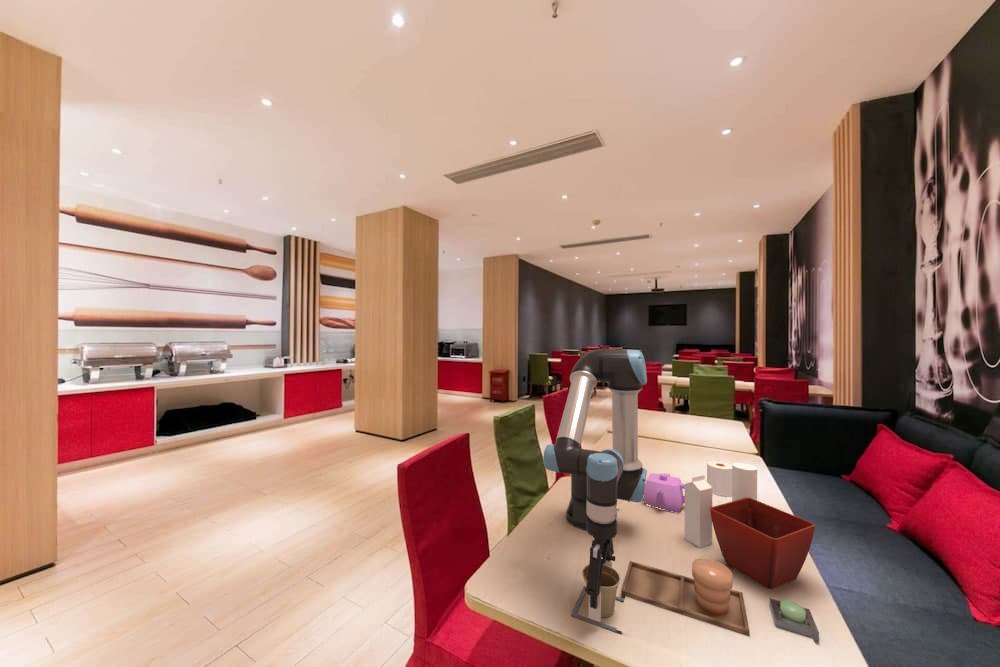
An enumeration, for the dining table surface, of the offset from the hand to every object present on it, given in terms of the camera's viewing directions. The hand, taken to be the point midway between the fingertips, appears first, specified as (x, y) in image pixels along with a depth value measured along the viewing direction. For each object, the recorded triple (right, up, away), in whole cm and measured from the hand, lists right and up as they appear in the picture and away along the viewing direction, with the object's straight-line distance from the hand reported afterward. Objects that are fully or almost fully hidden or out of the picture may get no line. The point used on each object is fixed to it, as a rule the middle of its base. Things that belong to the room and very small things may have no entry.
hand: (601, 601), depth 94 cm
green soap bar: (+45, -1, -5) cm, 45 cm away
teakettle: (+41, -3, +59) cm, 72 cm away
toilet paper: (+73, -3, +71) cm, 102 cm away
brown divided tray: (+23, -2, +4) cm, 23 cm away
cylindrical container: (+58, -3, +33) cm, 67 cm away
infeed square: (0, -2, 0) cm, 2 cm away
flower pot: (0, -2, 0) cm, 2 cm away
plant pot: (+51, -3, +15) cm, 53 cm away
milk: (+42, -3, +31) cm, 52 cm away
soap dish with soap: (+45, -2, -5) cm, 45 cm away
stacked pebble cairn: (+29, -1, +1) cm, 29 cm away
